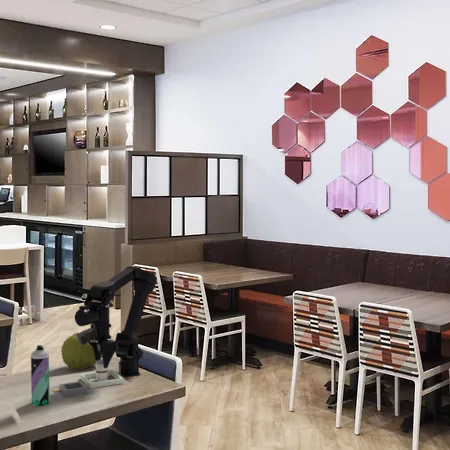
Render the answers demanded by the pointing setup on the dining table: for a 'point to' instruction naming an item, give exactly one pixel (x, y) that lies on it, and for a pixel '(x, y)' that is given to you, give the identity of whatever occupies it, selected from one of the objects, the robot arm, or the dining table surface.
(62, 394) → the holder
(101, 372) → the cylinder
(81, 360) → the fruit
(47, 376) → the spray can
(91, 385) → the tray
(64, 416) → the dining table surface
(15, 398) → the dining table surface
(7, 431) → the dining table surface
